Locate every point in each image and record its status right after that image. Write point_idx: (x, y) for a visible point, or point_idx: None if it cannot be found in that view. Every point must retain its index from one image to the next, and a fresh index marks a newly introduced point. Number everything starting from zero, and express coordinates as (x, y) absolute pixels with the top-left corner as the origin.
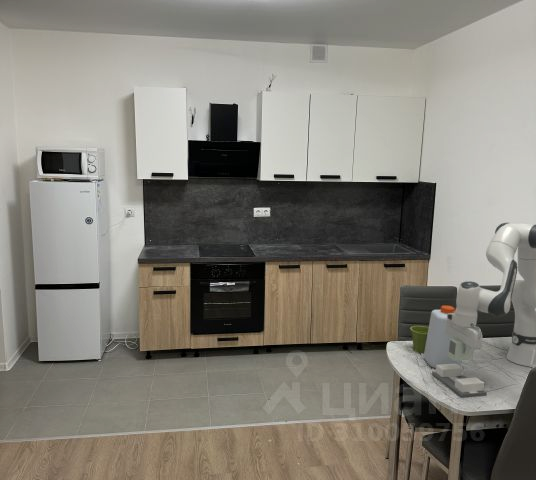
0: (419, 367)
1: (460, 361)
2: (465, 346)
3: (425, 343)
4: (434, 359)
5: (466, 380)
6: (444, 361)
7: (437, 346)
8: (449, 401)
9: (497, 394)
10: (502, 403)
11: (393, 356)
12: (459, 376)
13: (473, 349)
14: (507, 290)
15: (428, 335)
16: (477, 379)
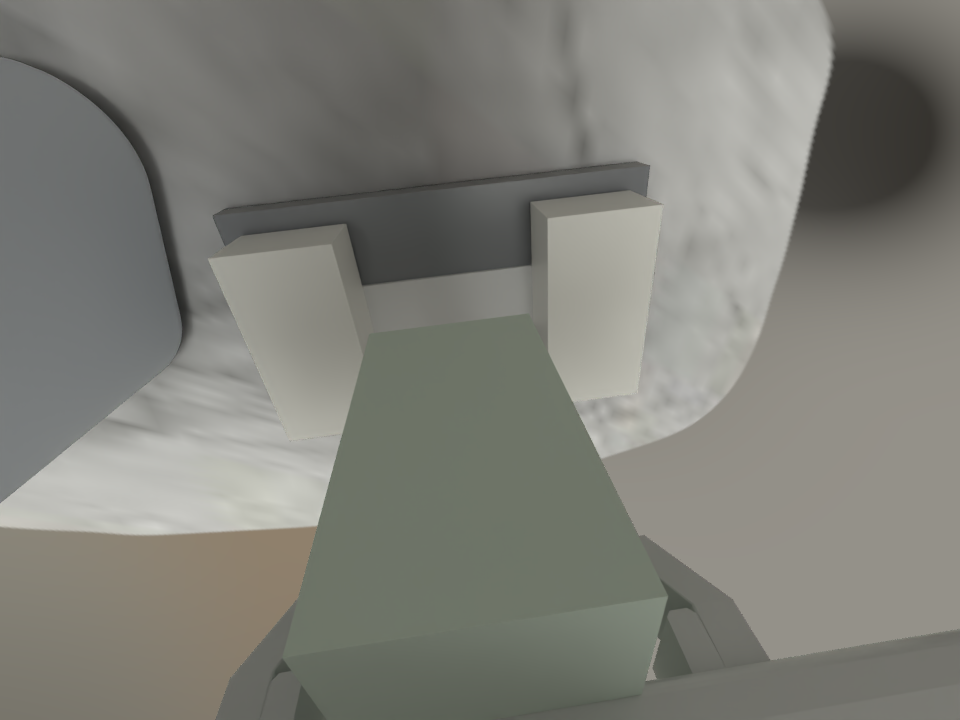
0: (184, 432)
1: (47, 120)
2: (658, 667)
3: None
4: (128, 397)
5: (584, 338)
6: (133, 318)
7: (13, 488)
8: (632, 427)
9: (647, 28)
10: (774, 98)
11: (34, 520)
12: (356, 249)
13: (577, 431)
14: None
15: None
16: (589, 231)
